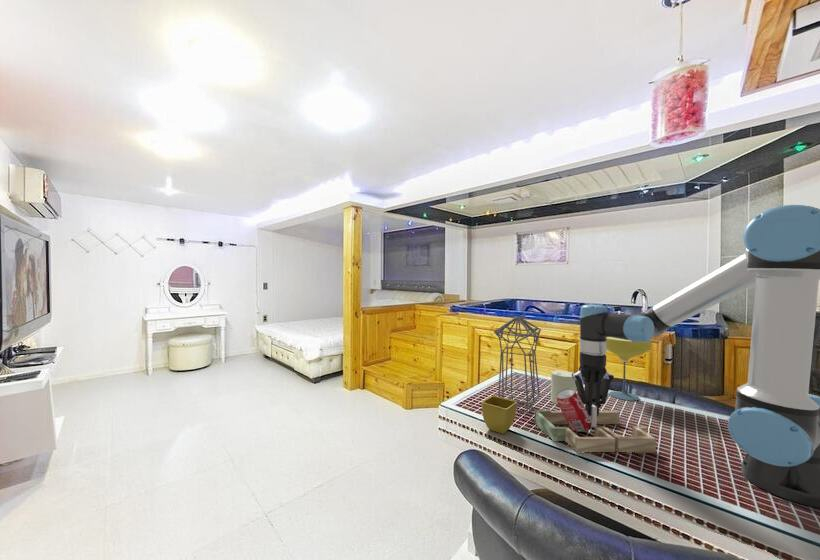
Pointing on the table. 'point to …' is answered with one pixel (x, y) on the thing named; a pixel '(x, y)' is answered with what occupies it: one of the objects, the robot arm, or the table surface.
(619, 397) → the cocktail glass
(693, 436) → the table surface
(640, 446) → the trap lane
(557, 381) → the can
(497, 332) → the geometric lantern
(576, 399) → the soda can
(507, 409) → the flower pot
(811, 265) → the robot arm
